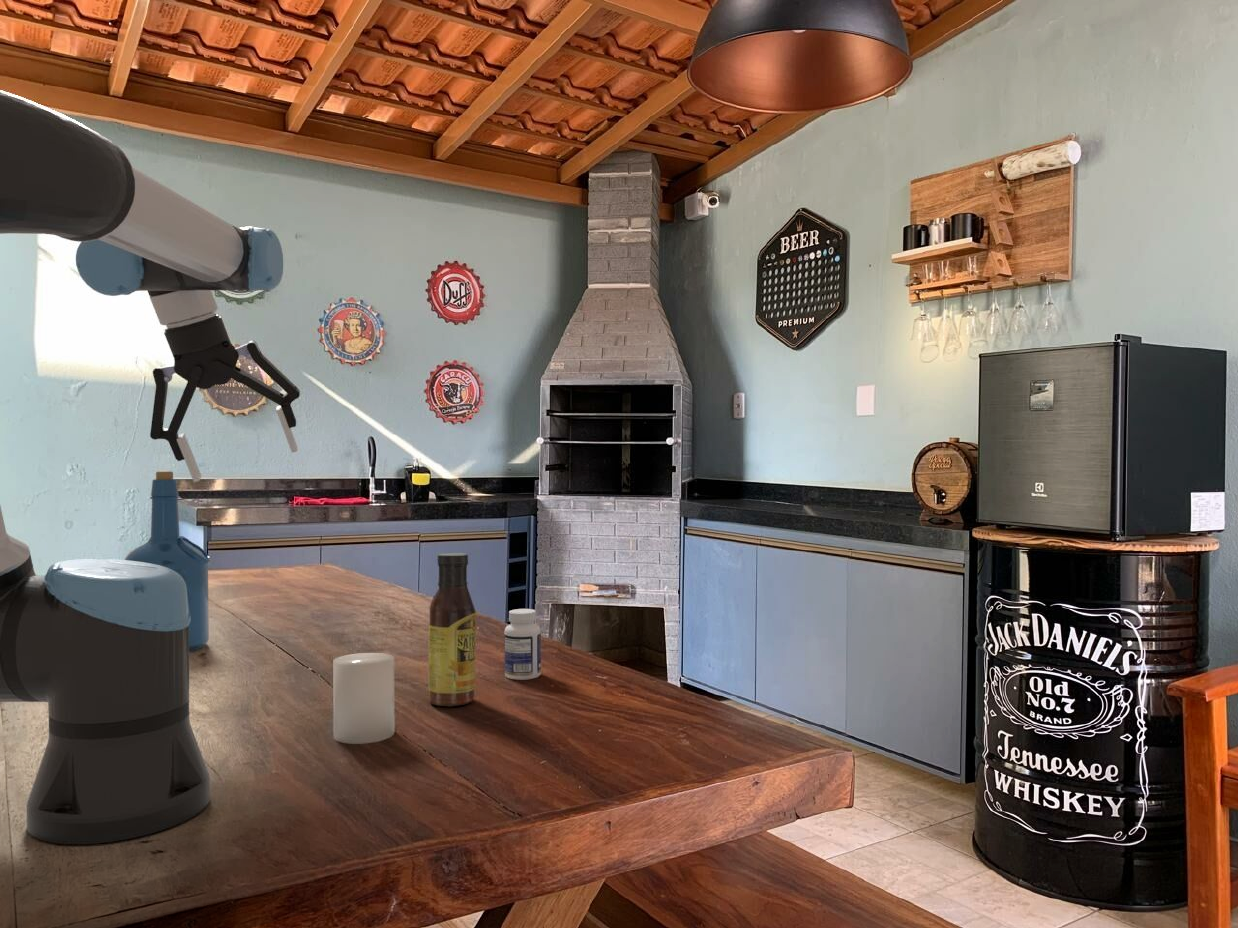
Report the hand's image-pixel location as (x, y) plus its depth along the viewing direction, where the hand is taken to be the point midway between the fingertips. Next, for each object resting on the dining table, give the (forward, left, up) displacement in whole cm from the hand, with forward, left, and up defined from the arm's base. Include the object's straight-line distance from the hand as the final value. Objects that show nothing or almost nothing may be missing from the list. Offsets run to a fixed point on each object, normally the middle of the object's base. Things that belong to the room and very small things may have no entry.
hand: (246, 464), depth 133 cm
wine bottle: (+32, +8, -32) cm, 46 cm away
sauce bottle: (-23, -22, -32) cm, 45 cm away
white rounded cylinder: (-31, -8, -32) cm, 45 cm away
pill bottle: (-15, -36, -32) cm, 50 cm away
